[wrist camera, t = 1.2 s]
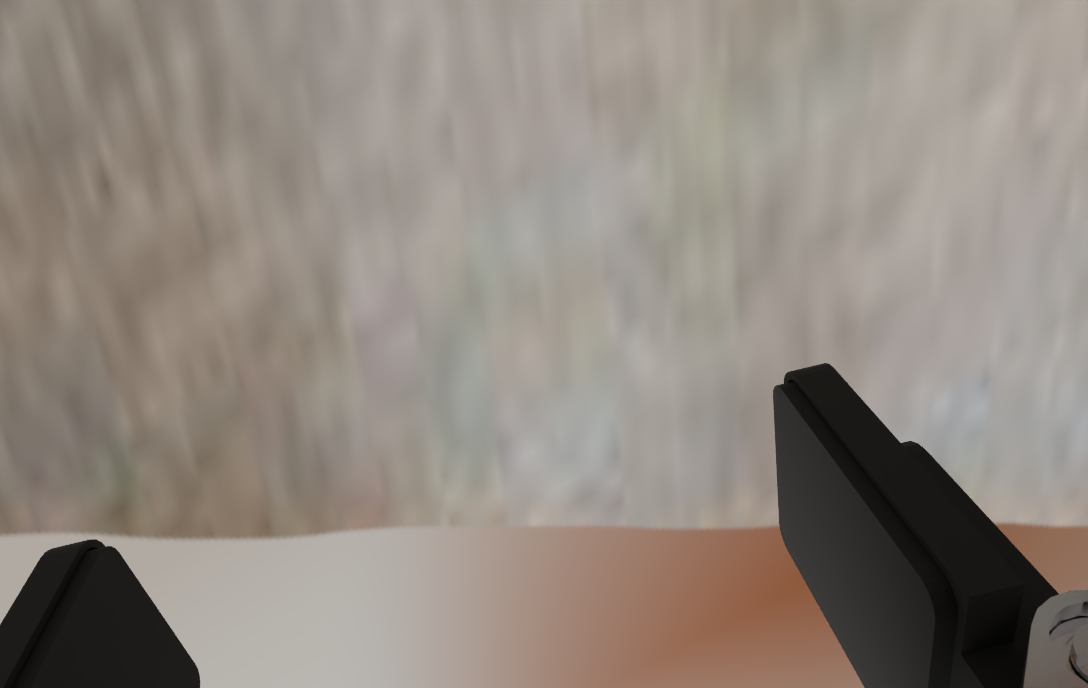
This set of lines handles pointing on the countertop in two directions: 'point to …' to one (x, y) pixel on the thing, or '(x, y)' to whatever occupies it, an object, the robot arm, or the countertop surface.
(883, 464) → the robot arm
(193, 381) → the countertop surface
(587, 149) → the countertop surface
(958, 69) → the countertop surface
